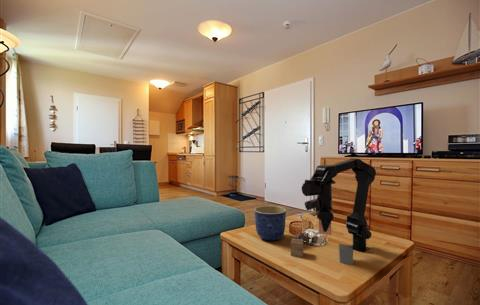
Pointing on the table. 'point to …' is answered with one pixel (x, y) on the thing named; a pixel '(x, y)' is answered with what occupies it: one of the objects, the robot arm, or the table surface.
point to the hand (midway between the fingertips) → (324, 229)
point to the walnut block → (297, 247)
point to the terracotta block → (322, 229)
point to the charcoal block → (346, 254)
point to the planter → (270, 222)
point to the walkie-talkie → (303, 237)
